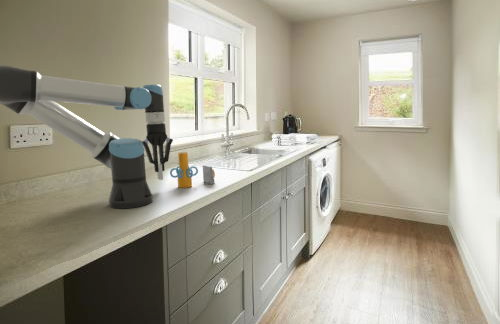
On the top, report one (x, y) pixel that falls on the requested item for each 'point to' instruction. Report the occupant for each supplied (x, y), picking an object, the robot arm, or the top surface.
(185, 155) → the orange block with rings
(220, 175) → the top surface
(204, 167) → the grey stone
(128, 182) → the robot arm
